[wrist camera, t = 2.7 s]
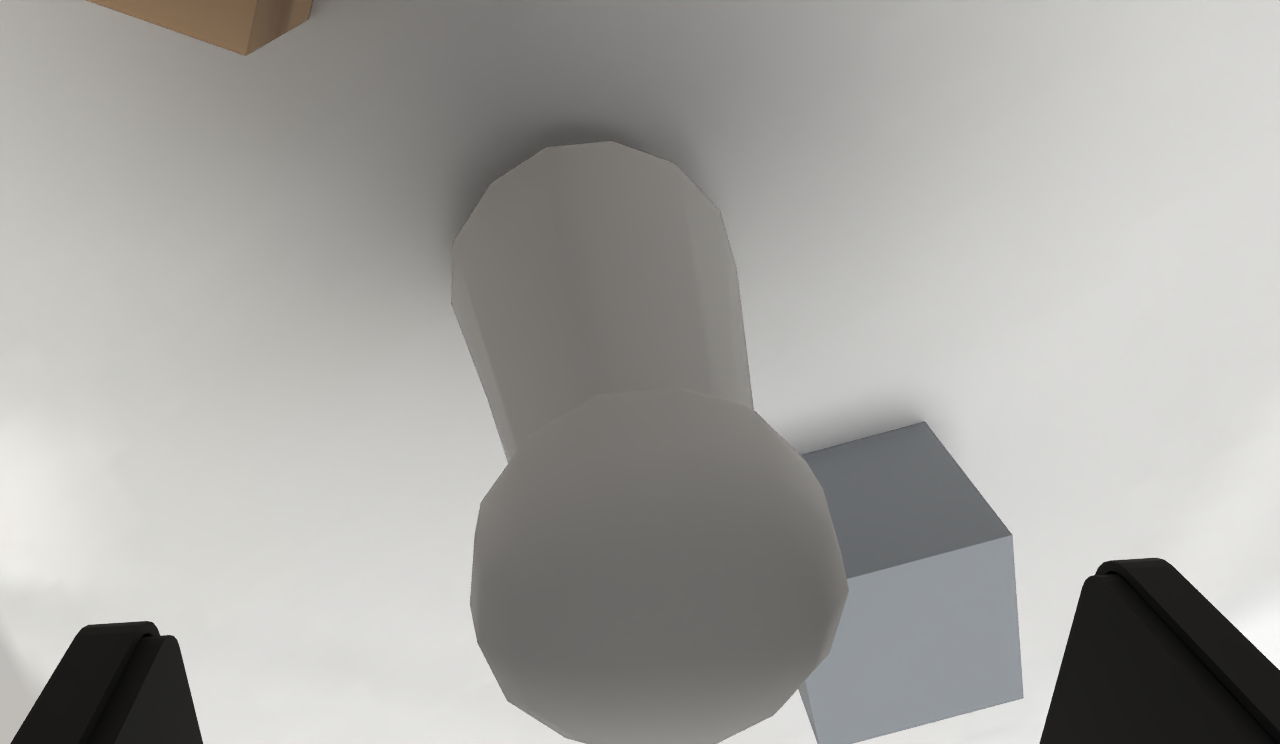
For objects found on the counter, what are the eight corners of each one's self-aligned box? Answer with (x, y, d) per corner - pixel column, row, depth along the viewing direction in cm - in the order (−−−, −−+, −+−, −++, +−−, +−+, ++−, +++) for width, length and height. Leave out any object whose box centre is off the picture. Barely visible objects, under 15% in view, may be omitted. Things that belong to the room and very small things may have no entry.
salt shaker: (477, 374, 23) (436, 875, 11) (435, 133, 20) (321, 456, 8) (719, 344, 23) (925, 798, 11) (708, 104, 20) (960, 376, 9)
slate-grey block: (738, 469, 25) (786, 595, 20) (923, 420, 25) (1012, 535, 20) (771, 611, 27) (820, 751, 23) (940, 566, 27) (1023, 698, 23)
